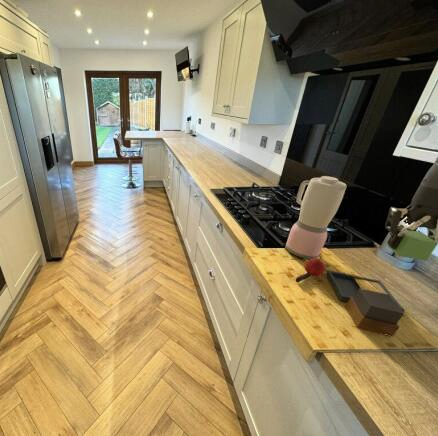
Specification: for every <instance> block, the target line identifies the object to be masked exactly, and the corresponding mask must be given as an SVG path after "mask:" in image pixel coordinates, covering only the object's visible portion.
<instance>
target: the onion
mask: <svg viewBox="0 0 438 436" xmlns="http://www.w3.org/2000/svg"><path fill="white" fill-rule="evenodd" d="M321 259H322V258H321V257H320V256H319V257H317V258H316V259H310V260H309V261H305V262H306V263H304V269H305V272H306V273H310V274H311V277H320V276H322V275H323V274H324V273H325V271H326V268H325V267H326V265H325V263H324V261H323V260H321Z"/></svg>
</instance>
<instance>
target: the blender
mask: <svg viewBox="0 0 438 436" xmlns="http://www.w3.org/2000/svg"><path fill="white" fill-rule="evenodd" d="M306 186H307V188H306ZM347 187H348V186H347V184H346V183H344V182H343V181H340V180H339V179H338V178H337V177H334V176H328V175H322V176H320V177H313V178H311V179H310V180H308V179H307V180H303V181H302V182H301V183H300V186H299V188H298V191H297V194H296V198H295V202H296V203H297V205H300V209H299V210H300V211H299V216H298V220H297V221H296V222H295V223H294V224H293V225H292V227H291V228H290V229H289V230H288V233H289V234H288V237H287V241H286V243H285V247H284V249H285V250H287V251H288V252H289V253H291V254H293V255H295V256H296V257H299V258H302V261H304V260H308V261H309V260H311V259H316V258H317V257H320V256H321V252H322V250H323V248H324V246H325V243H326V241H327V238H328V229H327V228H328V226H329V224H330V223H331V221H332V220H333V218H334V217H335V215H336V214H337V212H338V210H339V207H340V205H341V203H342V200H343V198H344V196H345V193H346V192H345V191H346V190H347ZM305 188H306V190H305ZM303 194H304V195H303ZM302 197H303V198H302Z"/></svg>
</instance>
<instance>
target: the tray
mask: <svg viewBox="0 0 438 436" xmlns="http://www.w3.org/2000/svg"><path fill="white" fill-rule="evenodd" d="M326 276H327V277H326ZM325 277H326V278H327V280H328V282H329V284H330V286H331V288H332V290H333V292H334V294H335V295H336V297H337V299H338V301H339V302H343V303H346V304H347V303H348V301H349V299H350V298H351V297H352V298H354V297H355V295H356V293H357V292H358V290H359V288H360V289H362V288H361V286H360V285H359V283H358V282H357V280H356V279H360V280H364V281H369V282H373V283H377V284H379V286H380V287H381V288H382V290H383V291H384V292H385V294H388V295H390V297H391V298H392V299H393V300H394V302H395V303H396V304H397V305H398V306H399V308H400V309H401V310H402V311H403V312H404V311H405V309H404V307H403V306H402V305H401V304H400V302H398V301H397V299H396V298H395V297H394V296H393V294H392V293H391V292H390V290H388V288H387V287H386V286H385V285H384V284H383V282H382V281H381V280H378V279H374V278H369V277H364V276H359V275H354V274H348V273H343V272H339V271H335V270H334V271H333V270H329V269H328V270H326V272H325Z"/></svg>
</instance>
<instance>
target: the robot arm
mask: <svg viewBox="0 0 438 436" xmlns="http://www.w3.org/2000/svg"><path fill="white" fill-rule="evenodd" d="M404 216H405V217H404ZM402 218H403V219H402ZM401 219H402V220H401ZM384 228H385V229H386V230H387V231H388V232H390V233H391V234H390V236H389V238H388V240H387V241H386V244H388V246H389V247H390V248H392V249H397V247H398V245H399V244H400V242H401V240H402V239H403V237H402V236H404V235H405V234H407V233H408V232H409V231H415V230H416V229H418V228H426V230H427V236H428V237H430V238H431V239H433V240H434V241H436V242H437V243H438V156H437V157H436V159H435V161H434V163H433V164H432V166H431V167H430V168H429V170H427V172H426V174H425V175H424V177H423V179H422V181H421V182H420V185H419V186H418V188H417V190H416V192H415V193H414V195H413V197H412V199H411V202H410V204H409V205H408V206H407V207H405V208H397V207H395V206H391V207H390V208H389V210H388V214H387V217H386V221H385V225H384ZM388 246H387V247H388ZM389 247H388V248H389ZM390 248H389V249H390Z"/></svg>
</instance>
